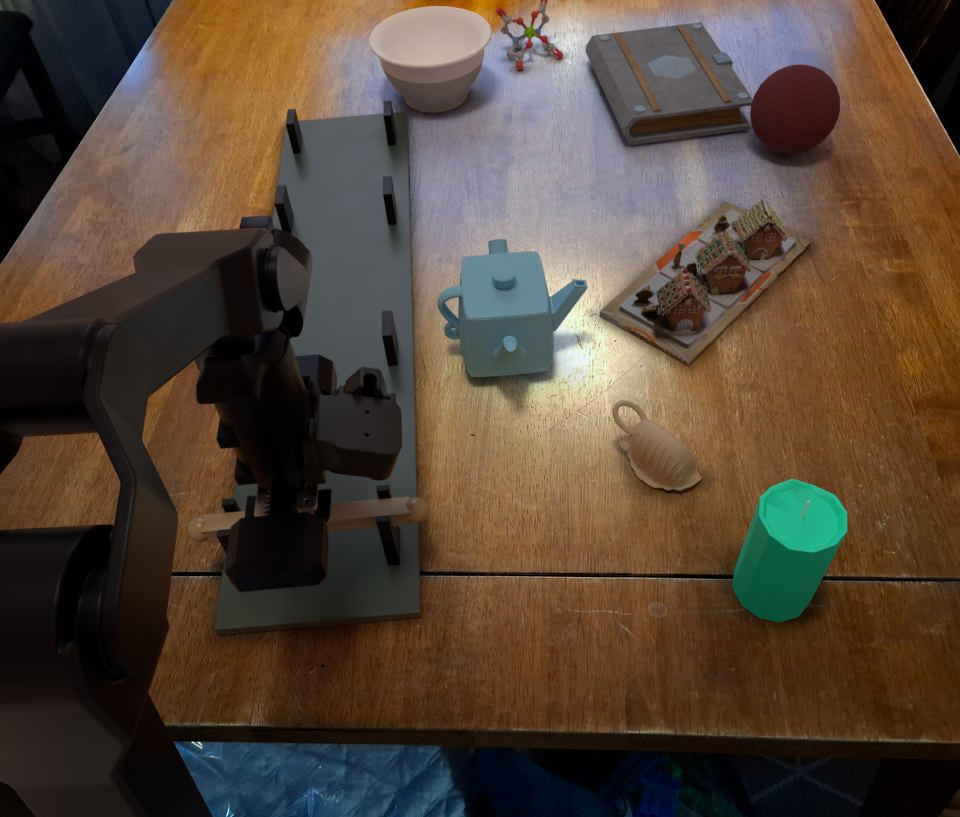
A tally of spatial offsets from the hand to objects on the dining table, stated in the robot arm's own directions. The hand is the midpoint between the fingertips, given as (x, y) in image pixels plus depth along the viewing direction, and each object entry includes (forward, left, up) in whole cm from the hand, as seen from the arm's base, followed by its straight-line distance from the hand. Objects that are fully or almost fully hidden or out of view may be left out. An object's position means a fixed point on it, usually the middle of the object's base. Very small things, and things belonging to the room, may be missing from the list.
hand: (310, 526), depth 66 cm
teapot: (+28, -5, -5) cm, 29 cm away
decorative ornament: (+20, -22, -5) cm, 30 cm away
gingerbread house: (+45, -20, -5) cm, 50 cm away
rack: (+26, +15, -5) cm, 30 cm away
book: (+78, -5, -5) cm, 78 cm away
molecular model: (+82, +16, -5) cm, 84 cm away
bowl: (+68, +24, -5) cm, 72 cm away
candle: (+12, -34, -5) cm, 36 cm away
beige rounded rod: (0, 0, 0) cm, 0 cm away
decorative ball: (+72, -22, -5) cm, 76 cm away
